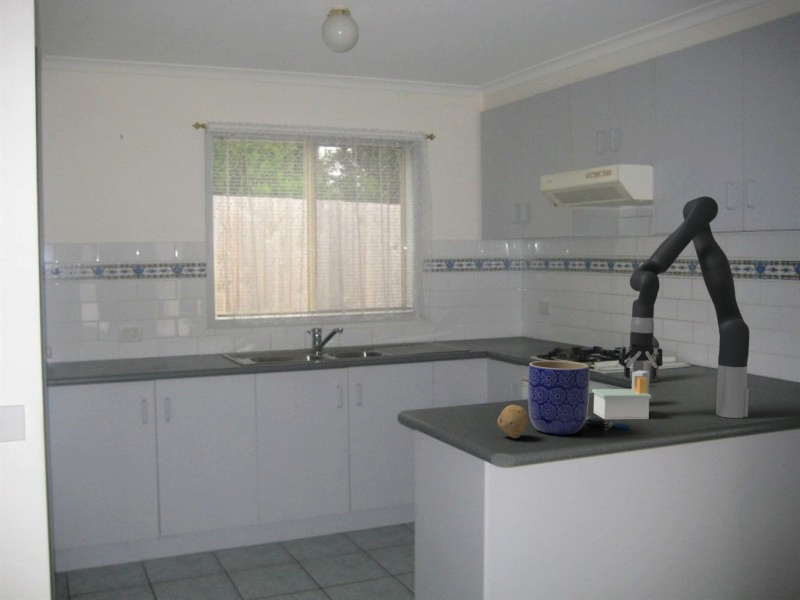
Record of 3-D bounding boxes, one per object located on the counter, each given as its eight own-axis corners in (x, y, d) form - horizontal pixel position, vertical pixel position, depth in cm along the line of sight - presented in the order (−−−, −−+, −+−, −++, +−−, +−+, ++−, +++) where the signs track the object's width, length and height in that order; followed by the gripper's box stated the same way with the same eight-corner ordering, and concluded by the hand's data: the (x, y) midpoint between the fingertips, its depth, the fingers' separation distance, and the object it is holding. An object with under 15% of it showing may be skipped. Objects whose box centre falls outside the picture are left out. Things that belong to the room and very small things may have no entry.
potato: (493, 439, 247) (494, 406, 247) (501, 433, 256) (502, 400, 255) (524, 443, 244) (525, 408, 244) (531, 436, 253) (532, 403, 252)
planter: (554, 422, 273) (556, 358, 272) (600, 432, 259) (602, 365, 258) (514, 429, 262) (516, 363, 260) (560, 440, 248) (562, 370, 246)
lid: (637, 395, 291) (638, 374, 291) (651, 401, 279) (651, 380, 279) (592, 395, 290) (592, 374, 289) (603, 402, 278) (604, 380, 277)
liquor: (660, 381, 357) (663, 310, 355) (646, 383, 352) (649, 311, 349) (643, 378, 364) (645, 309, 362) (629, 380, 359) (631, 309, 357)
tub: (636, 412, 291) (636, 392, 291) (648, 419, 280) (649, 398, 280) (593, 412, 290) (594, 392, 289) (604, 419, 279) (605, 398, 278)
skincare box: (637, 402, 309) (638, 370, 308) (648, 404, 306) (650, 371, 305) (630, 405, 304) (631, 372, 303) (641, 406, 301) (643, 373, 301)
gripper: (658, 329, 288) (656, 377, 289) (617, 329, 287) (615, 376, 288) (667, 332, 281) (664, 380, 282) (625, 331, 279) (623, 380, 281)
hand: (639, 378), depth 285 cm, fingers open, 8 cm apart
